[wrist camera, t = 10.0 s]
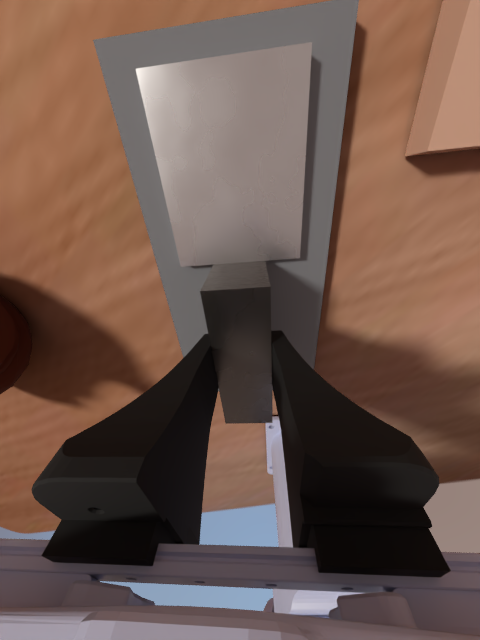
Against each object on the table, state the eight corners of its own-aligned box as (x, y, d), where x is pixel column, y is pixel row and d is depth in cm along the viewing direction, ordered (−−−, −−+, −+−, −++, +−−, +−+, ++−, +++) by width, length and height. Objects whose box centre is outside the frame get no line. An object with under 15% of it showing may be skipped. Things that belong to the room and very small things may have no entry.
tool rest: (309, 380, 17) (311, 388, 16) (195, 383, 17) (193, 391, 17) (349, 13, 8) (359, -4, 7) (106, 52, 8) (93, 39, 8)
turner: (291, 370, 15) (303, 422, 12) (207, 372, 16) (195, 423, 12) (307, 52, 8) (356, -66, 4) (142, 76, 8) (61, -10, 5)
